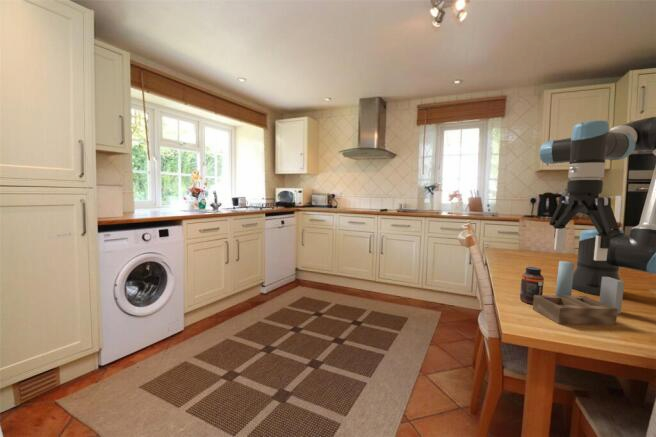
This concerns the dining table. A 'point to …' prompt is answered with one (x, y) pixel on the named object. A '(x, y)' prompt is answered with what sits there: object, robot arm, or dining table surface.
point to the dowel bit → (565, 278)
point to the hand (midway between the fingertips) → (578, 254)
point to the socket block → (574, 310)
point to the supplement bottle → (531, 284)
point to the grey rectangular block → (612, 292)
